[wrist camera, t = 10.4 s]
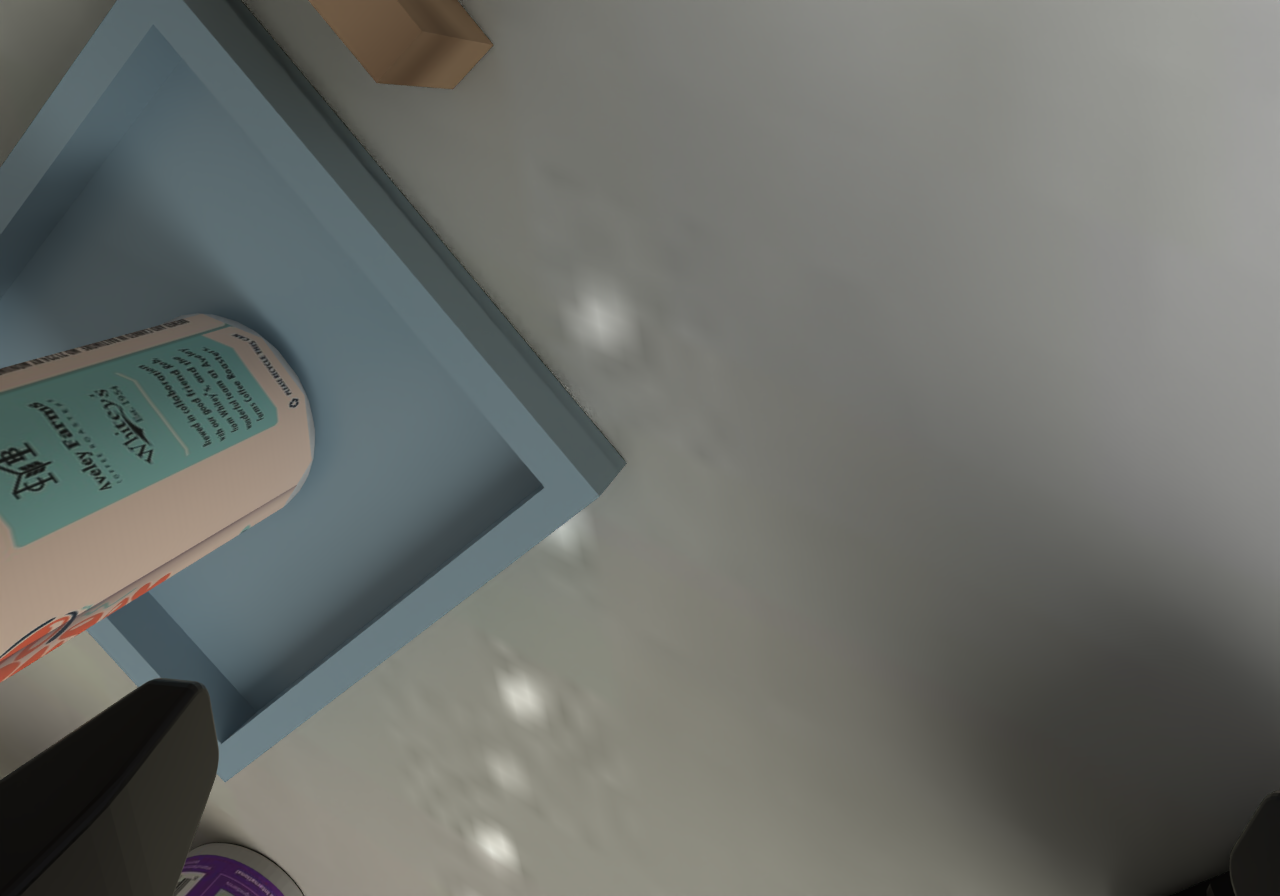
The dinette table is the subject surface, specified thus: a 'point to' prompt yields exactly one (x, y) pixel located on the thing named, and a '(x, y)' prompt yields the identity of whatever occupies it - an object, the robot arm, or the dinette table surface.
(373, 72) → the frame
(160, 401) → the beer can
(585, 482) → the tray
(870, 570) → the dinette table surface
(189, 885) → the container
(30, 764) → the robot arm
